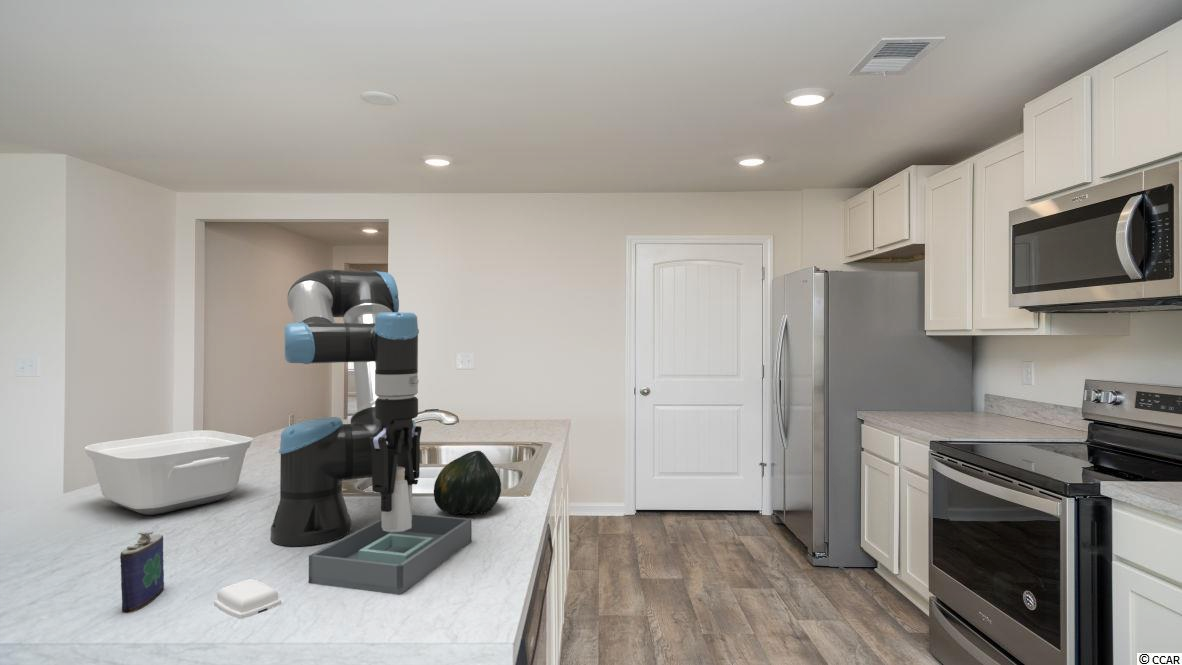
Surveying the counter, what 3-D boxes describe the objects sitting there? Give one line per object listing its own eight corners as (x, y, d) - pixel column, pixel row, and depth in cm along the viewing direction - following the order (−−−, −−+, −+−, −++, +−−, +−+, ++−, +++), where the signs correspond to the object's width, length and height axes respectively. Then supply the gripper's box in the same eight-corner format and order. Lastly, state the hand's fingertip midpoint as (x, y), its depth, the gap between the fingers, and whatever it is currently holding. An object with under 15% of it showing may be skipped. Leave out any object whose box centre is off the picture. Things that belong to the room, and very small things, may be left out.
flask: (151, 588, 102) (150, 522, 102) (170, 587, 103) (170, 522, 103) (116, 614, 93) (116, 542, 93) (138, 612, 94) (137, 541, 94)
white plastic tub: (269, 500, 154) (269, 440, 154) (136, 532, 130) (135, 461, 130) (199, 481, 172) (199, 427, 172) (71, 506, 148) (70, 444, 148)
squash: (420, 484, 148) (440, 443, 140) (476, 477, 157) (498, 438, 149) (438, 536, 139) (460, 495, 132) (496, 525, 149) (521, 487, 141)
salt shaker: (387, 534, 111) (387, 472, 111) (377, 526, 115) (377, 467, 115) (417, 528, 114) (417, 468, 114) (406, 521, 118) (406, 463, 118)
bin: (308, 582, 105) (308, 555, 105) (394, 533, 129) (394, 512, 129) (400, 594, 100) (400, 566, 100) (471, 541, 125) (471, 518, 125)
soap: (210, 606, 96) (210, 588, 96) (255, 591, 102) (255, 573, 102) (239, 622, 91) (239, 603, 91) (284, 605, 97) (284, 587, 97)
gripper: (387, 403, 105) (387, 541, 105) (438, 392, 122) (439, 512, 122) (348, 401, 107) (349, 537, 107) (404, 391, 124) (404, 509, 124)
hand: (397, 523), depth 115 cm, fingers closed on salt shaker, 4 cm apart
